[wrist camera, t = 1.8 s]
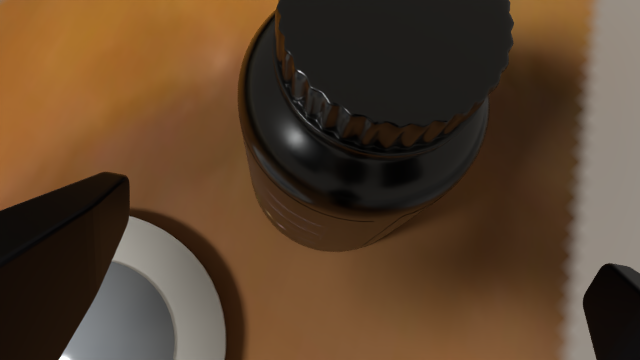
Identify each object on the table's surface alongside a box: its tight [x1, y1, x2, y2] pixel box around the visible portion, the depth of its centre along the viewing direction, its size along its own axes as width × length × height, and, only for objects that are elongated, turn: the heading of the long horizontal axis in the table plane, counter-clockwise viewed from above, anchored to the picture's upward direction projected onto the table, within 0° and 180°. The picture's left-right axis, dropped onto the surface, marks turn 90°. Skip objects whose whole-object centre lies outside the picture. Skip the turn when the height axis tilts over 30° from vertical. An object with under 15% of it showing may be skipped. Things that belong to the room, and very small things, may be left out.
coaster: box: [59, 216, 226, 360], centre depth 18 cm, size 10×10×1 cm
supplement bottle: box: [238, 0, 514, 252], centre depth 15 cm, size 7×7×12 cm
